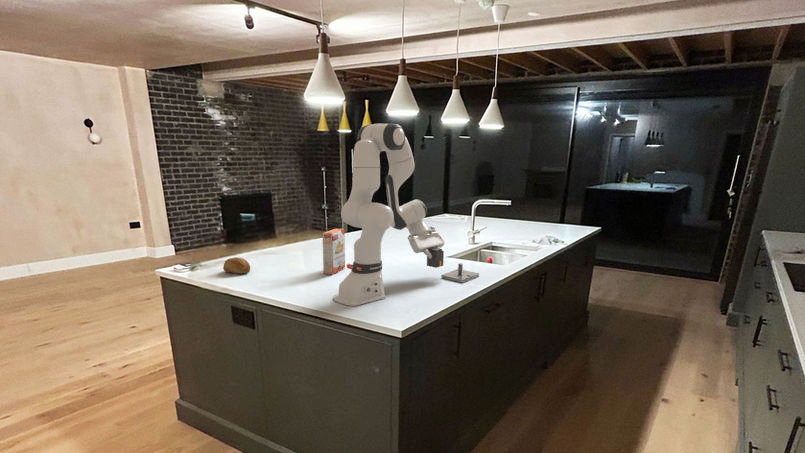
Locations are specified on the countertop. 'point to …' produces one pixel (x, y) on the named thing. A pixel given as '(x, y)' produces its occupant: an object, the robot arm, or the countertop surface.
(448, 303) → the countertop surface
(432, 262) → the dark grey block
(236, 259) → the bread roll
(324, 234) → the cracker box
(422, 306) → the countertop surface
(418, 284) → the countertop surface
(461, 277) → the hub plate
